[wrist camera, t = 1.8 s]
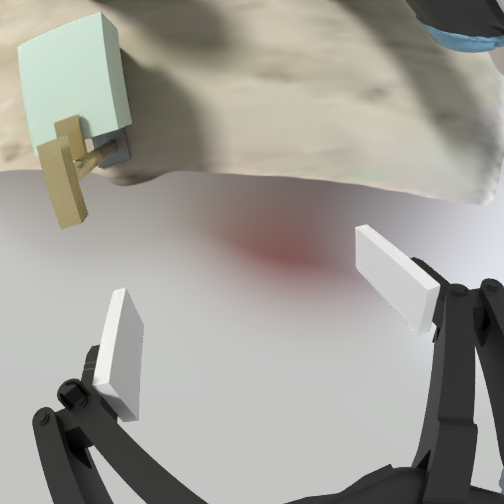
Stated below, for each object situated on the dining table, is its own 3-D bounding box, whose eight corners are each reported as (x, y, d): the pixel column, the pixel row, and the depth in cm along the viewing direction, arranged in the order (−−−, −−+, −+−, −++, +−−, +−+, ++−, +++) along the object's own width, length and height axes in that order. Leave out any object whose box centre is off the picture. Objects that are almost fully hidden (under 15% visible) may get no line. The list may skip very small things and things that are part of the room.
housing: (71, 63, 30) (55, 58, 25) (119, 47, 31) (109, 38, 26) (92, 169, 38) (79, 179, 33) (139, 156, 39) (132, 164, 34)
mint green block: (47, 54, 25) (17, 46, 18) (117, 29, 26) (100, 11, 19) (63, 144, 30) (35, 157, 23) (132, 123, 31) (118, 129, 25)
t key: (94, 114, 34) (30, 128, 17) (110, 109, 34) (56, 118, 18) (107, 174, 38) (59, 229, 22) (123, 170, 38) (84, 222, 22)
